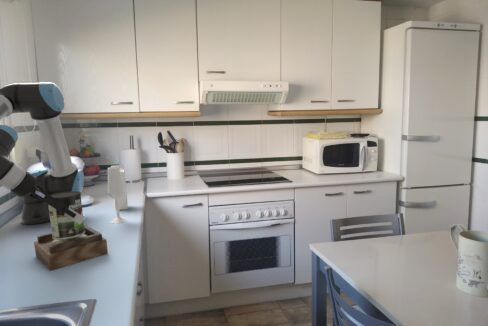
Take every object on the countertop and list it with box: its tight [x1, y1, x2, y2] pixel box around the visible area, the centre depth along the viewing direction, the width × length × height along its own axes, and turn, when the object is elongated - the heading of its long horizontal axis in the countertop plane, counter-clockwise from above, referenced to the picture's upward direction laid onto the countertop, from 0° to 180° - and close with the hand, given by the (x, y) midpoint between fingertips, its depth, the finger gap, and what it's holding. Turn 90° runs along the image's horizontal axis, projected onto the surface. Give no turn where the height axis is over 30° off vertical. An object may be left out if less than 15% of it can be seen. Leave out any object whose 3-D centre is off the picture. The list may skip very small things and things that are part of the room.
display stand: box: [33, 224, 109, 271], centre depth 126 cm, size 18×18×7 cm
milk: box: [110, 164, 129, 211], centre depth 185 cm, size 6×6×22 cm
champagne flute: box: [107, 166, 127, 224], centre depth 163 cm, size 7×7×24 cm
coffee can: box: [48, 191, 85, 240], centre depth 125 cm, size 10×10×14 cm
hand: (76, 218), depth 127 cm, fingers closed on coffee can, 10 cm apart
